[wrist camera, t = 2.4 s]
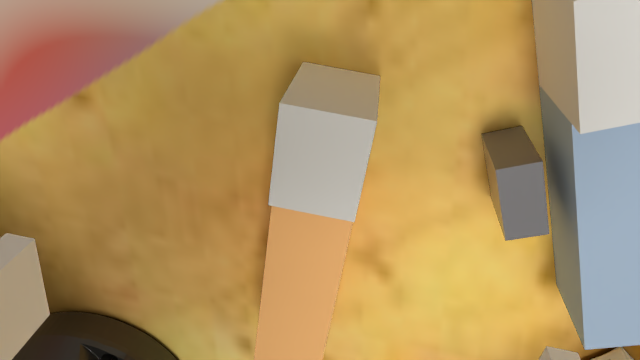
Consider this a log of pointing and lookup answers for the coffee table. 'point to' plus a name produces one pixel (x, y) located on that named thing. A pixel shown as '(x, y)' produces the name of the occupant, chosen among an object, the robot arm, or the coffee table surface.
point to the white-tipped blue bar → (593, 160)
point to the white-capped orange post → (313, 205)
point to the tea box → (615, 355)
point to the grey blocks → (516, 183)
